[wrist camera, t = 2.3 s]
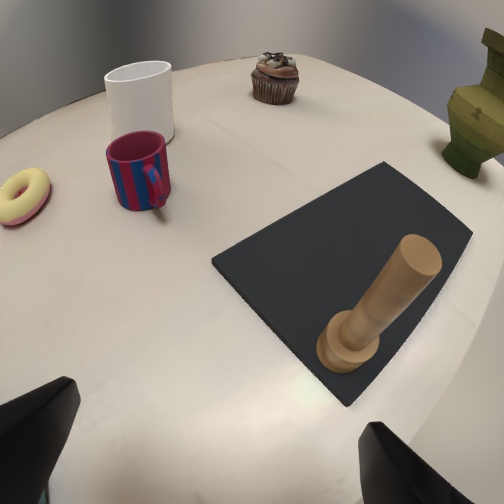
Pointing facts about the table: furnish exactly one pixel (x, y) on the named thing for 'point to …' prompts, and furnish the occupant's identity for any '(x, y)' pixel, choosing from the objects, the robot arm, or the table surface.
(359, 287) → the mat
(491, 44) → the vase
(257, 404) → the table surface
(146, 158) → the cup
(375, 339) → the stick
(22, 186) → the donut
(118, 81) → the mug
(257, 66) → the cupcake
